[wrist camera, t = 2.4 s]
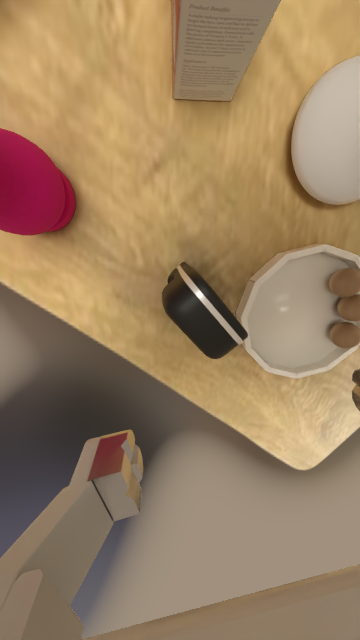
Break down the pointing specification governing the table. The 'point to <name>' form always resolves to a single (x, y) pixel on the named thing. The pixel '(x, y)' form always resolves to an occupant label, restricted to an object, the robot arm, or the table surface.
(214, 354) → the battery charger
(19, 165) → the pepper mill
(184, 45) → the small box
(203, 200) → the table surface
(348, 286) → the bead
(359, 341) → the bead
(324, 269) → the tray
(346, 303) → the bead
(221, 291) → the table surface
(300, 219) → the table surface
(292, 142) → the flower in vase
